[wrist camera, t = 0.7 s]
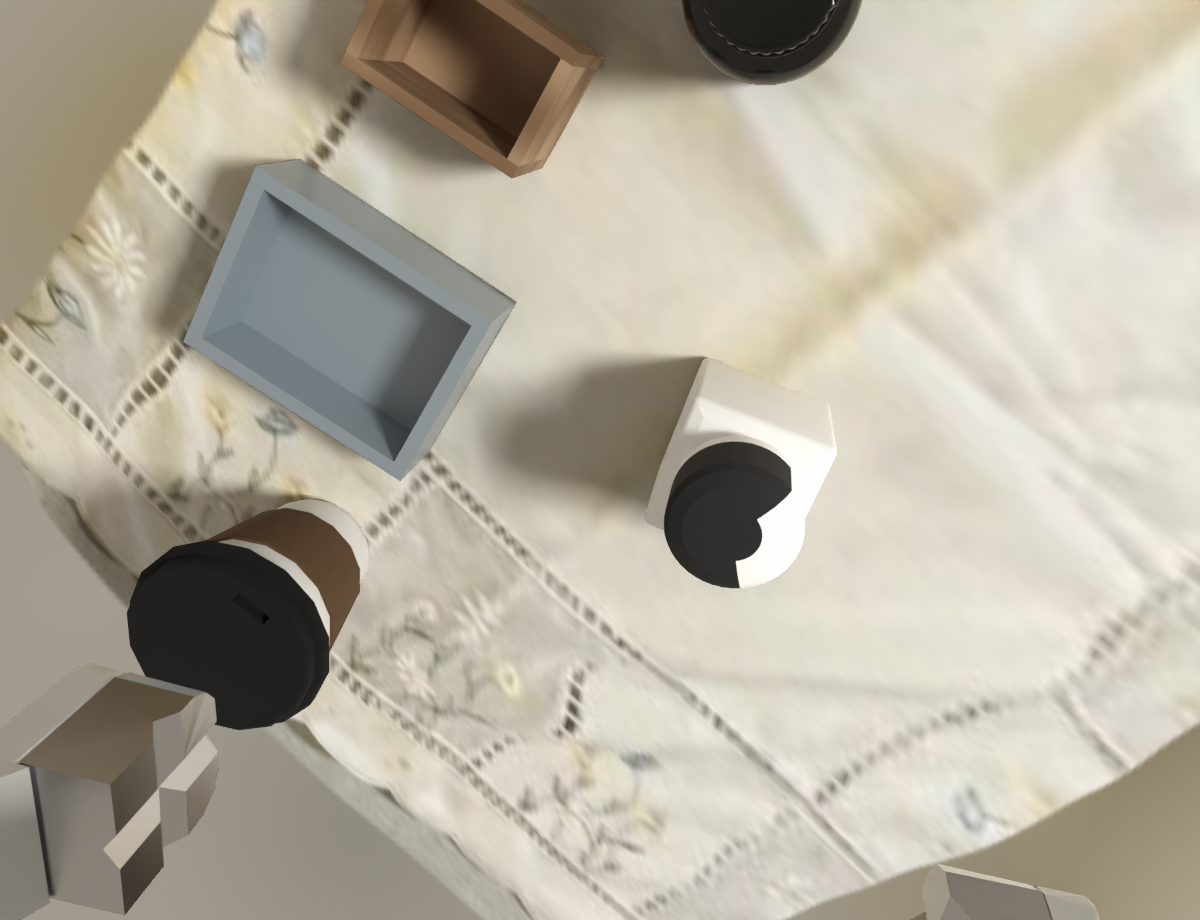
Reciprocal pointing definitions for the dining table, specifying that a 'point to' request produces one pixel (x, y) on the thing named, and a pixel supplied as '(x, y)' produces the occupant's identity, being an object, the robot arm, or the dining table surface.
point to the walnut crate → (476, 72)
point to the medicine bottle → (741, 476)
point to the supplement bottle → (769, 35)
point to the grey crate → (344, 316)
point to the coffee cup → (252, 610)
